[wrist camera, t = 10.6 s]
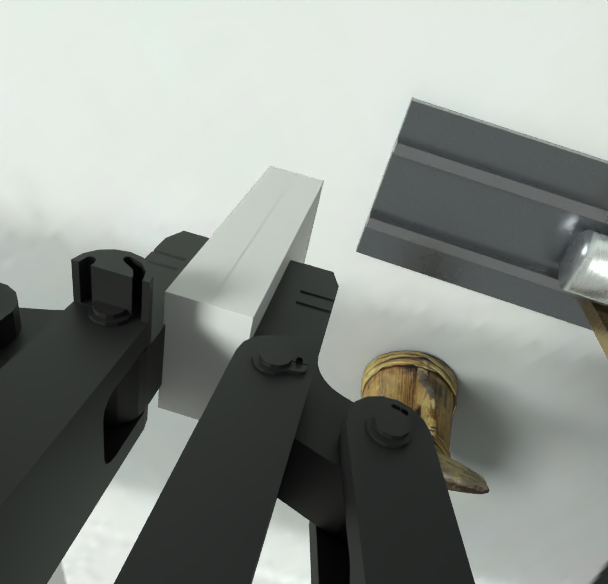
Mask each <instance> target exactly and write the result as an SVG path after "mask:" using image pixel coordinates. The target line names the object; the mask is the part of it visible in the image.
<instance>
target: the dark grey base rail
mask: <svg viewBox="0 0 608 584" xmlns="http://www.w3.org/2000/svg"><path fill="white" fill-rule="evenodd" d="M585 230H592V231H595V232H598V233H601V234H604V235H607V236H608V161H606V160H603V159H600V158H597V157H594V156H590V155H587V154H584V153H581V152H578V151H575V150H572V149H569V148H566V147H563V146H560V145H557V144H553V143H550V142H547V141H544V140H541V139H538V138H535V137H532V136H529V135H526V134H523V133H519V132H516V131H513V130H510V129H507V128H504V127H501V126H498V125H495V124H492V123H489V122H485V121H482V120H479V119H476V118H473V117H470V116H467V115H464V114H461V113H458V112H455V111H452V110H448V109H445V108H442V107H439V106H436V105H433V104H430V103H427V102H424V101H421V100H418V99H414V98H412V99H411V102H410V104H409V107H408V110H407V112H406V115H405V118H404V121H403V123H402V126H401V129H400V132H399V134H398V137H397V140H396V142H395V145H394V148H393V151H392V153H391V156H390V159H389V162H388V164H387V167H386V170H385V173H384V175H383V178H382V181H381V183H380V186H379V189H378V192H377V194H376V197H375V200H374V203H373V205H372V208H371V211H370V213H369V216H368V219H367V222H366V224H365V227H364V230H363V233H362V235H361V238H360V241H359V243H358V246H357V250H356V252H359V253H362V254H365V255H368V256H371V257H374V258H377V259H380V260H383V261H386V262H389V263H392V264H395V265H398V266H401V267H404V268H407V269H410V270H413V271H416V272H419V273H422V274H425V275H428V276H431V277H434V278H437V279H440V280H443V281H446V282H449V283H452V284H455V285H458V286H461V287H464V288H467V289H470V290H473V291H476V292H479V293H482V294H485V295H488V296H491V297H494V298H497V299H500V300H503V301H506V302H510V303H513V304H516V305H519V306H522V307H525V308H528V309H531V310H534V311H537V312H540V313H543V314H546V315H549V316H552V317H555V318H558V319H561V320H564V321H567V322H570V323H573V324H576V325H579V326H582V327H585V328H588V329H591V330H593V329H592V327H591V325H590V323H589V321H588V319H587V317H586V316H585V314H584V312H583V310H582V309H583V308H584V307H585V305H586V304H587V302H588V301H591V302H594V303H597V304H600V305H603V306H606V307H608V305H607V304H604V303H601V302H598V301H595V300H592V299H589V298H586V297H583V296H580V295H577V294H574V293H571V292H568V291H565V290H563V289H561V287H560V286H559V283H558V272H559V267H560V264H561V261H562V258H563V256H564V254H565V252H566V250H567V248H568V247H569V245H570V244H571V242H572V241H573V240H574V239H575V237H576V236H577V235H579V234H580V233H581V232H583V231H585Z"/></svg>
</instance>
